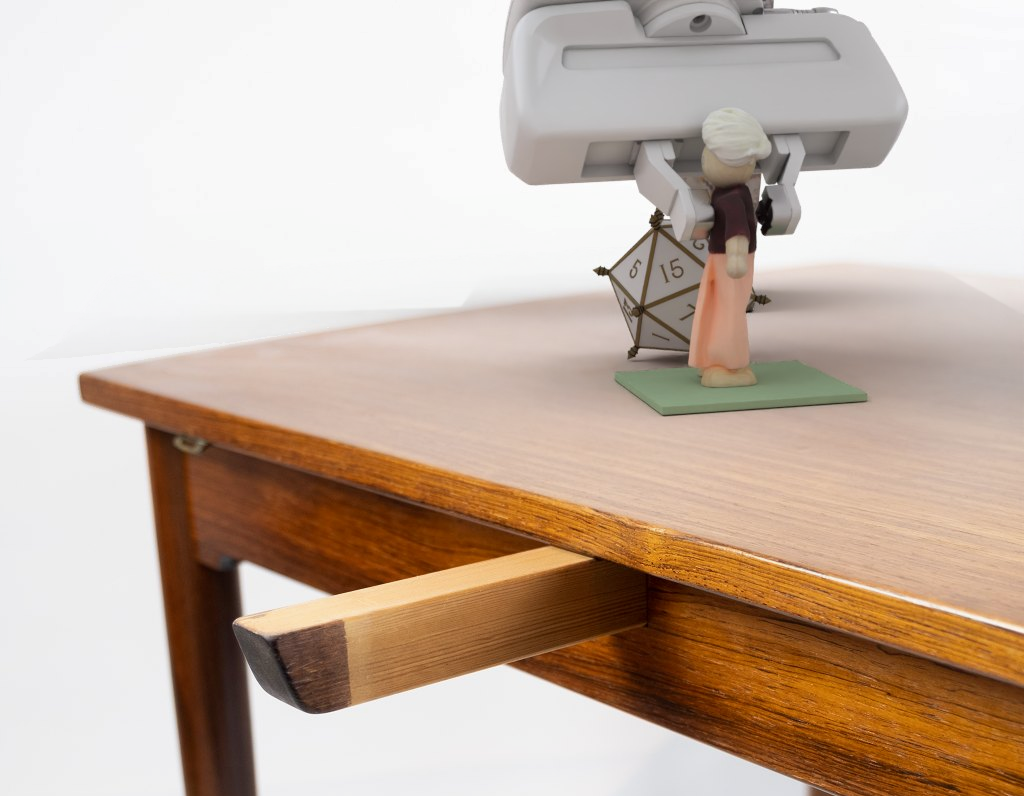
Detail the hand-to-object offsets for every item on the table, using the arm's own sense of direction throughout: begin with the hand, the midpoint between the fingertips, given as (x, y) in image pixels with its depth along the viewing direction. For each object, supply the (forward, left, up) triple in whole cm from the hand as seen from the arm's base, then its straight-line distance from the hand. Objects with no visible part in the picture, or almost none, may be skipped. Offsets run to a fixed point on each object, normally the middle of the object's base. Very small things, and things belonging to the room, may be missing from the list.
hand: (740, 229), depth 72 cm
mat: (0, -1, -8) cm, 8 cm away
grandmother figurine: (0, -1, -7) cm, 8 cm away
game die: (0, -11, -8) cm, 13 cm away
